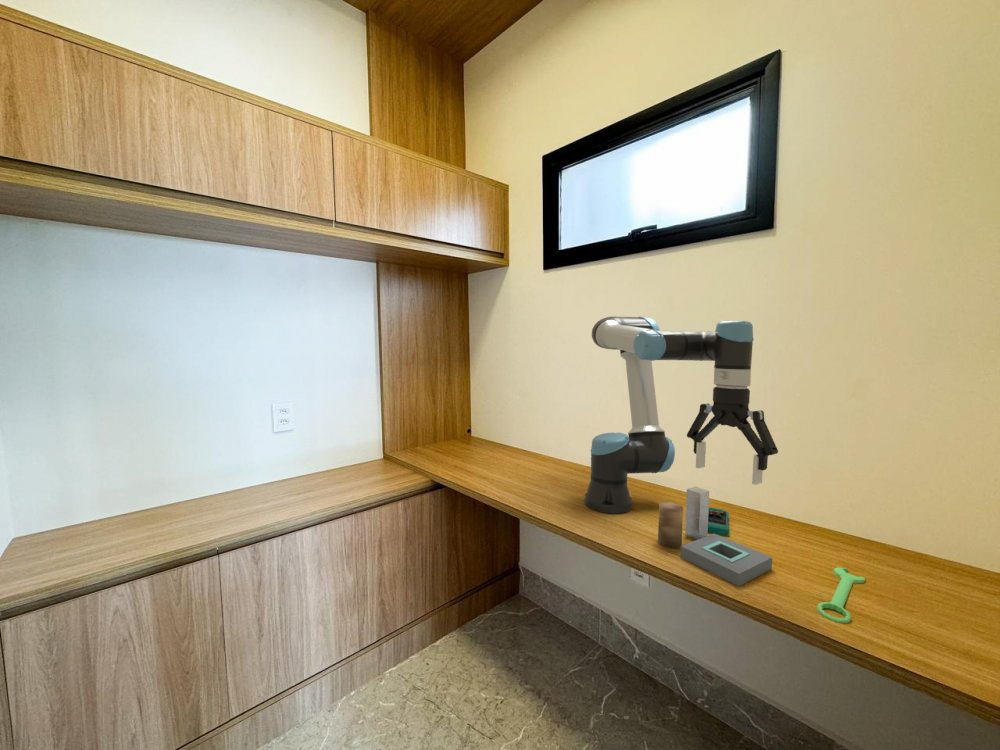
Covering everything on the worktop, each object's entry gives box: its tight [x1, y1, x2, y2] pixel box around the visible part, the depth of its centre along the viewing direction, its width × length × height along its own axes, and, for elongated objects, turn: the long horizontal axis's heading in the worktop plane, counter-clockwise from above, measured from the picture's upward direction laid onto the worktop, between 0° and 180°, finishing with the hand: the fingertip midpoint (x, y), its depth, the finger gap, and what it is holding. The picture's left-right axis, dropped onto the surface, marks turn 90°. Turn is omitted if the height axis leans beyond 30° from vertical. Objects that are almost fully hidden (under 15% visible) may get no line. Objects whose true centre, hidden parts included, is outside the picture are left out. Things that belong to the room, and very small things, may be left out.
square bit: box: [684, 486, 710, 541], centre depth 109 cm, size 4×4×13 cm
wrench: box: [817, 567, 866, 624], centre depth 84 cm, size 25×2×5 cm
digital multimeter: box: [708, 506, 730, 537], centre depth 117 cm, size 7×15×3 cm, turn 150°
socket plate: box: [680, 533, 773, 587], centre depth 95 cm, size 14×14×3 cm
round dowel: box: [657, 501, 684, 549], centre depth 105 cm, size 6×6×10 cm
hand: (726, 474), depth 95 cm, fingers open, 13 cm apart
